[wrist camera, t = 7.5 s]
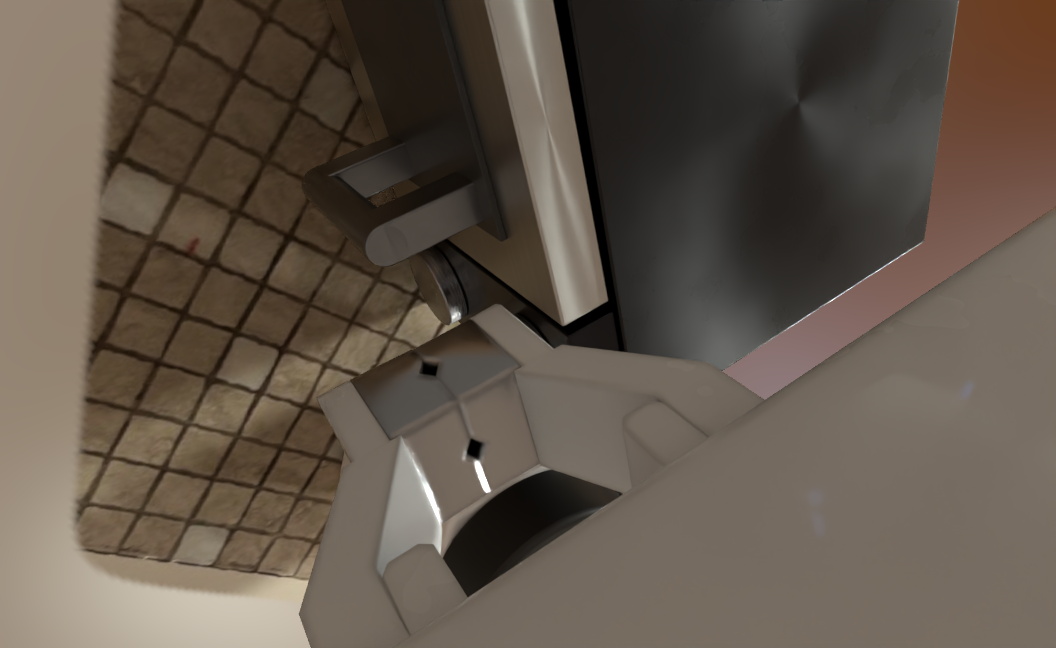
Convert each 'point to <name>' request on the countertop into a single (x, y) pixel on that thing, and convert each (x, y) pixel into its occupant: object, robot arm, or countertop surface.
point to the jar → (515, 523)
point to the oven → (733, 166)
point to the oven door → (467, 145)
